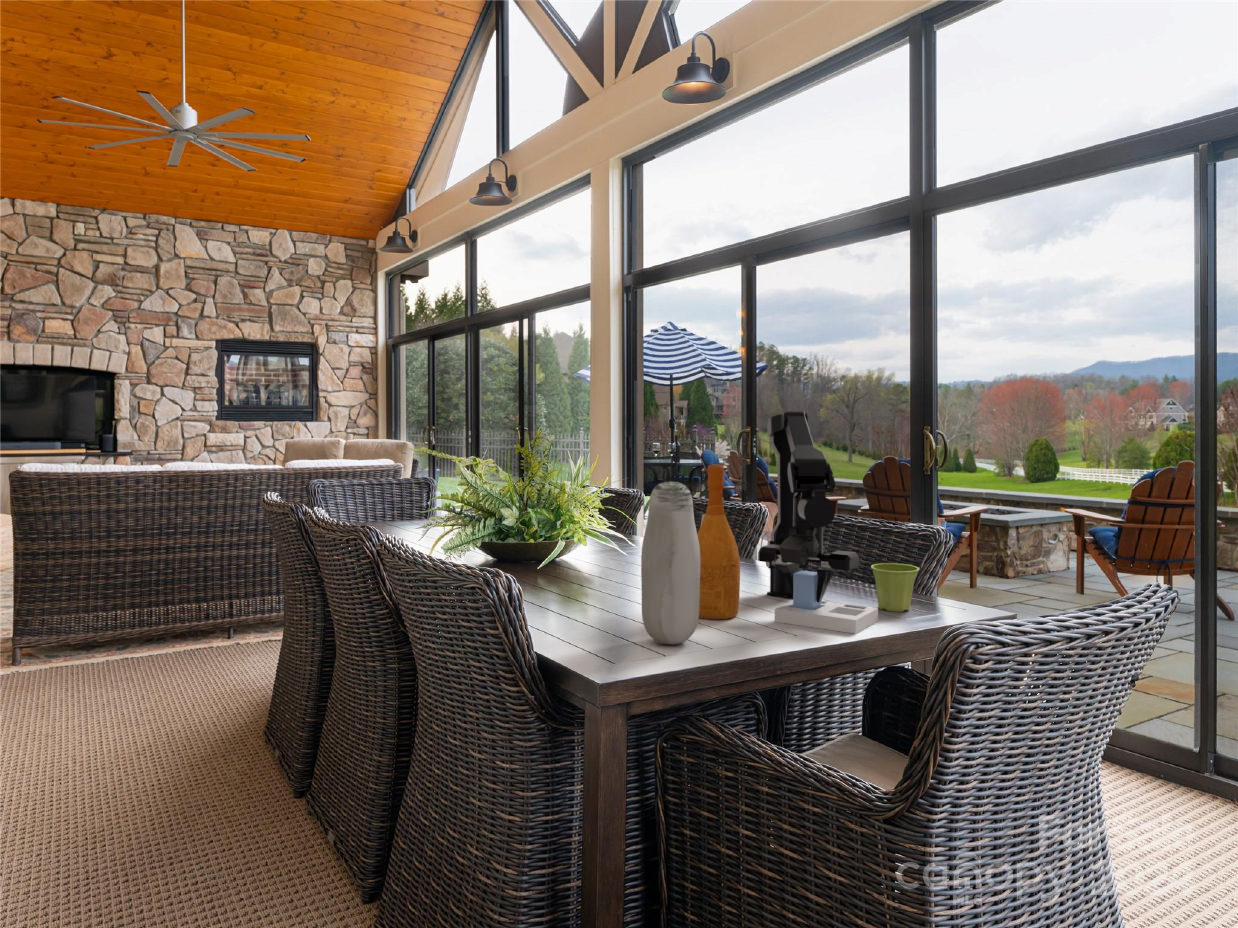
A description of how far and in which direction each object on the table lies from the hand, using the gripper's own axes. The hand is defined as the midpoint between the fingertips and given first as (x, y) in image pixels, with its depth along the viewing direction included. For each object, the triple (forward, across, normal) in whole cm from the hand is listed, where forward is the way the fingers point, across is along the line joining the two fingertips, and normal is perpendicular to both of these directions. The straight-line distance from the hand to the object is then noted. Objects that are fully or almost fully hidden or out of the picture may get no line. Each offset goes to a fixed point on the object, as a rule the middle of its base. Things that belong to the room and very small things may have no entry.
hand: (806, 600), depth 168 cm
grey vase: (+4, -12, -31) cm, 33 cm away
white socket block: (+4, +4, 0) cm, 5 cm away
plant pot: (+4, +11, +19) cm, 22 cm away
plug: (+4, 0, 0) cm, 4 cm away
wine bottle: (+4, -16, -8) cm, 18 cm away
